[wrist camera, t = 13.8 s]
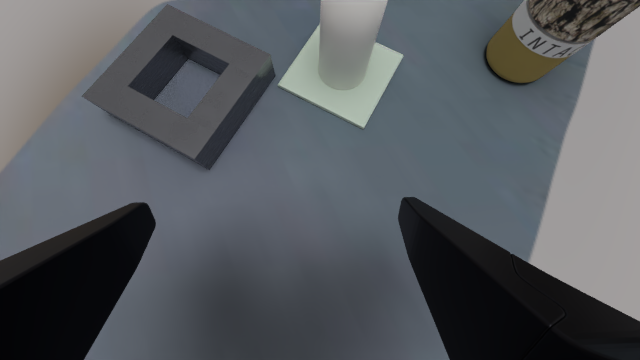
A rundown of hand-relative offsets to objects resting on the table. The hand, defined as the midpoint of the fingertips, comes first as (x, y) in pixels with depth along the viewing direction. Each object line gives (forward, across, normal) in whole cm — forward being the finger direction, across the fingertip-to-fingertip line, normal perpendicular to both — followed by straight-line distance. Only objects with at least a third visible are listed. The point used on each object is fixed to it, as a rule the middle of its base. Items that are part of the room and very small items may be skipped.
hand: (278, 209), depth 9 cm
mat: (+21, -5, -2) cm, 22 cm away
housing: (+20, +11, 0) cm, 22 cm away
